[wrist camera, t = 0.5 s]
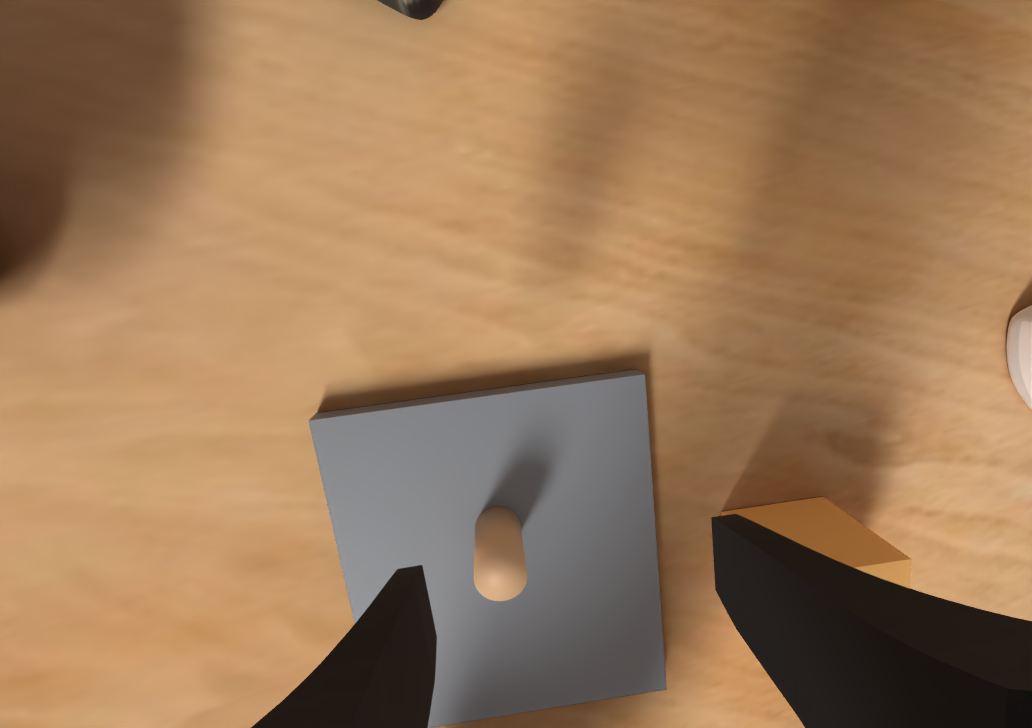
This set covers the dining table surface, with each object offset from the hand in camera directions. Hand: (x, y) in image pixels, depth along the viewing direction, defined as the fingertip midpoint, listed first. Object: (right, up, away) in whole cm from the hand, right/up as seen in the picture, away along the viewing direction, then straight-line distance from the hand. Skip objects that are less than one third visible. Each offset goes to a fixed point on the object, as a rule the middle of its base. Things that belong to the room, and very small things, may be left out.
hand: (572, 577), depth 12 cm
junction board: (-2, -4, +11) cm, 12 cm away
